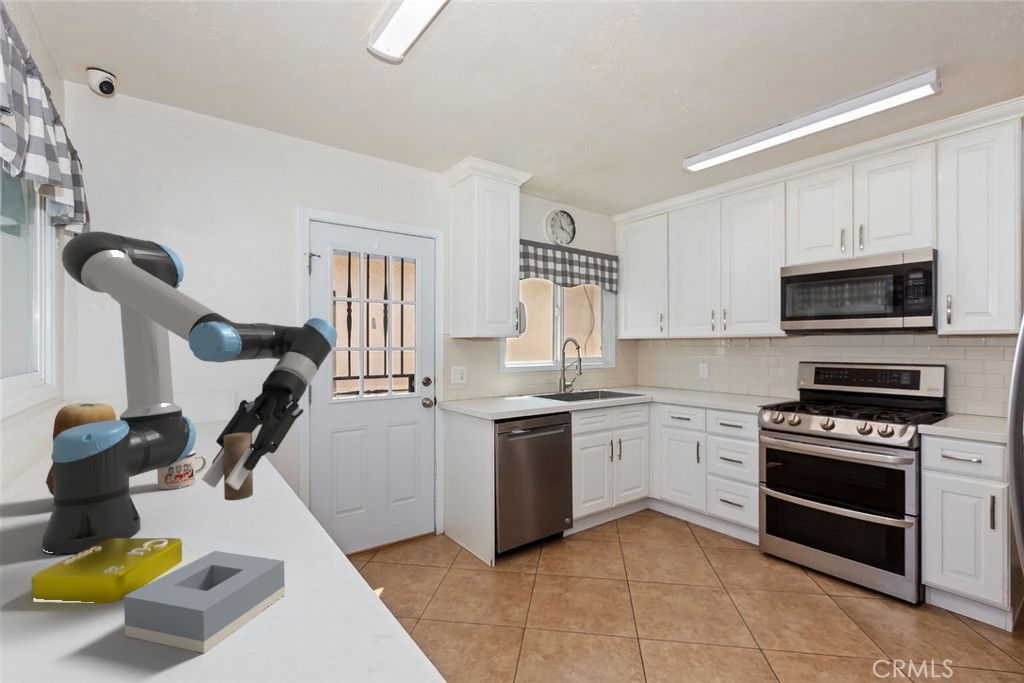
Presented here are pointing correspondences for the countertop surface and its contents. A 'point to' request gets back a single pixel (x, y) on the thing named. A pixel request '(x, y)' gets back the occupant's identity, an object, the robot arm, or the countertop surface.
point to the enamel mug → (180, 472)
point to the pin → (232, 454)
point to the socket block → (203, 600)
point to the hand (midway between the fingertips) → (220, 484)
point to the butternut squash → (78, 422)
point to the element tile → (108, 570)
